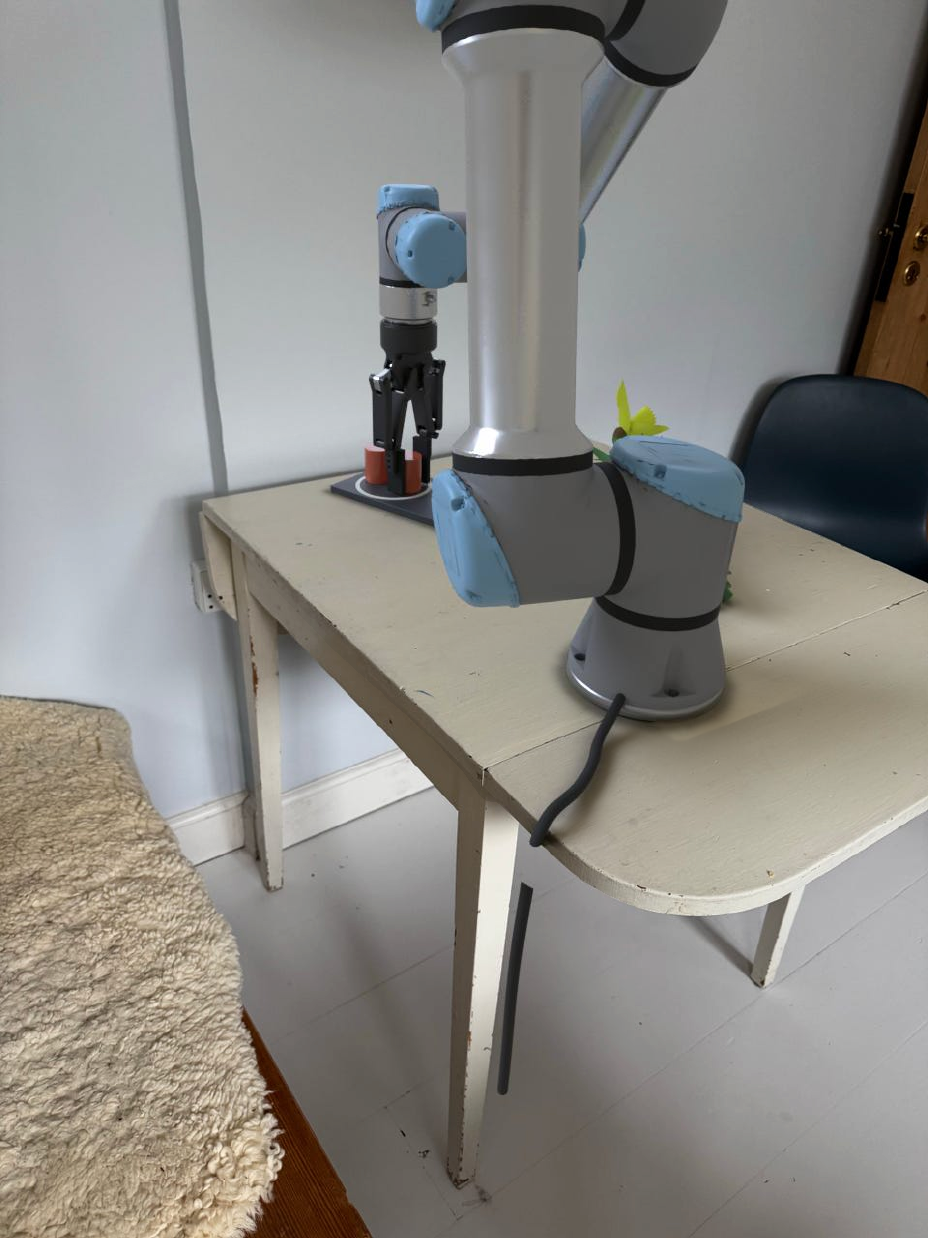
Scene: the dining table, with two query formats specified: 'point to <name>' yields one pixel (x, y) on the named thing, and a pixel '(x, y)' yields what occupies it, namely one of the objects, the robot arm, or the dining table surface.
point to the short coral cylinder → (375, 465)
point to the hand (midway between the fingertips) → (409, 486)
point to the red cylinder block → (413, 472)
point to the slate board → (389, 498)
